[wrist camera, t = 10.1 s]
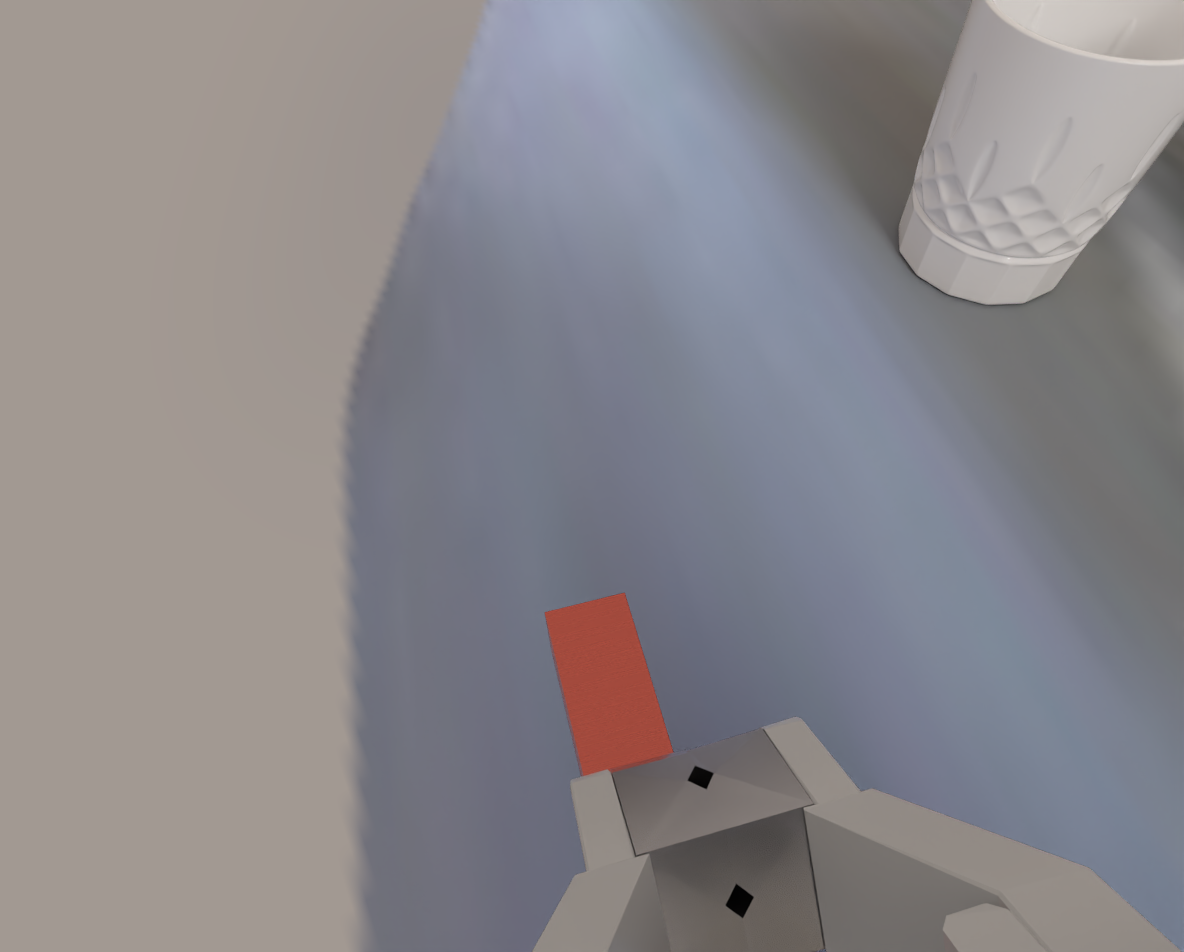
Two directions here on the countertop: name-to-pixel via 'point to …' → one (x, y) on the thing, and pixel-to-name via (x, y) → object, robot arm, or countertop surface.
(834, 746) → the countertop surface
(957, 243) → the white cup
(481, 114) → the countertop surface
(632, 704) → the lever
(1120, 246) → the countertop surface
